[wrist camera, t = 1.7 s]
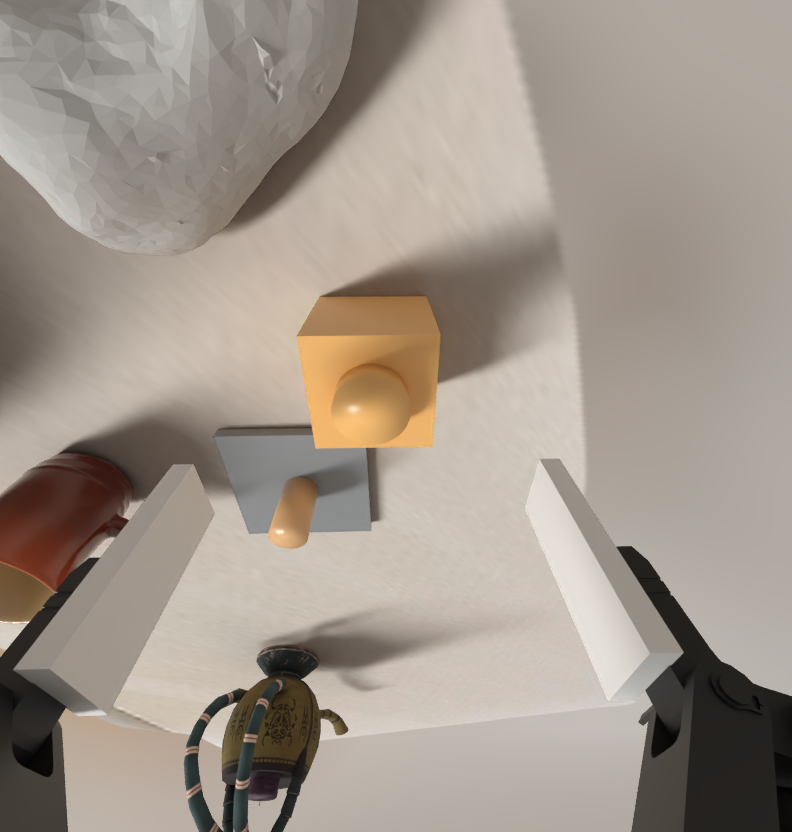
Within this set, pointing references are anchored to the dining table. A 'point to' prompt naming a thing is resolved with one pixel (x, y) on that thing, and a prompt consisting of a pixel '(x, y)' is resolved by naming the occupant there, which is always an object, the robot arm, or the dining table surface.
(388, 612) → the dining table surface
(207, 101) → the decorative stone
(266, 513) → the plate
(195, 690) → the dining table surface
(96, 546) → the mug
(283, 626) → the dining table surface
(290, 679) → the teapot
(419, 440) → the orange cube with dome
